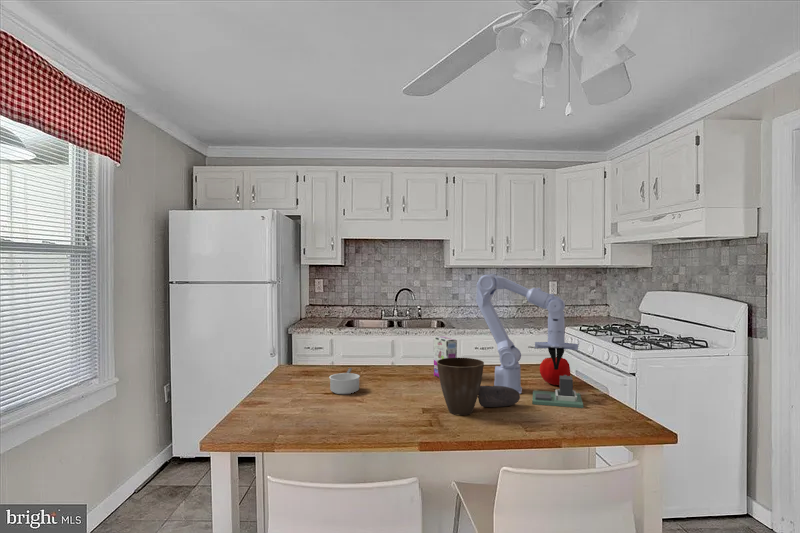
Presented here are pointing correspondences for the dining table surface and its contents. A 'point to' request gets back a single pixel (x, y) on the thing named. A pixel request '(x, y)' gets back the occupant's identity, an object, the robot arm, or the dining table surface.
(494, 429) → the dining table surface
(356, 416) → the dining table surface
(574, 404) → the board
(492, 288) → the robot arm
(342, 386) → the saucepan
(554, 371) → the tomato
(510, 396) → the perforated stone tool
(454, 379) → the plant pot
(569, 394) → the plug
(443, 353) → the candy bar box
